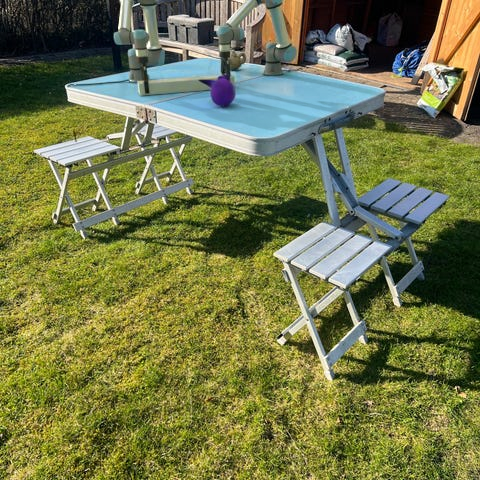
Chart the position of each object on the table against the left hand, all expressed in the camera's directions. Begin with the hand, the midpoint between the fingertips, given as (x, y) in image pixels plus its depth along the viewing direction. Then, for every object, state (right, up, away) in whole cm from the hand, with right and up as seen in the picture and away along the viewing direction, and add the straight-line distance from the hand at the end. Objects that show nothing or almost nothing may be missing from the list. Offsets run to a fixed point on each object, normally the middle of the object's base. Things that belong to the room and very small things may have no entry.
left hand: (146, 91), depth 300 cm
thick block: (+26, +4, +7) cm, 28 cm away
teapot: (+58, +42, +72) cm, 101 cm away
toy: (+50, -17, -27) cm, 59 cm away
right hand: (+53, +9, +14) cm, 55 cm away
